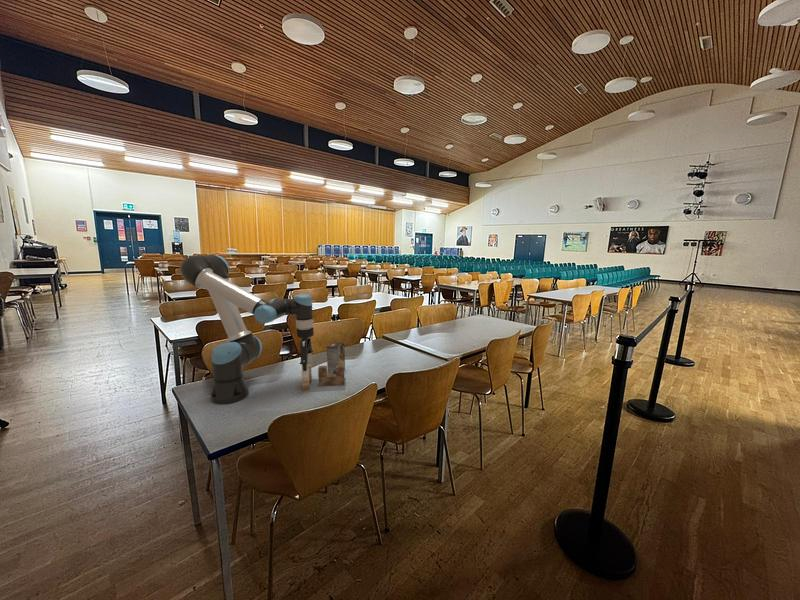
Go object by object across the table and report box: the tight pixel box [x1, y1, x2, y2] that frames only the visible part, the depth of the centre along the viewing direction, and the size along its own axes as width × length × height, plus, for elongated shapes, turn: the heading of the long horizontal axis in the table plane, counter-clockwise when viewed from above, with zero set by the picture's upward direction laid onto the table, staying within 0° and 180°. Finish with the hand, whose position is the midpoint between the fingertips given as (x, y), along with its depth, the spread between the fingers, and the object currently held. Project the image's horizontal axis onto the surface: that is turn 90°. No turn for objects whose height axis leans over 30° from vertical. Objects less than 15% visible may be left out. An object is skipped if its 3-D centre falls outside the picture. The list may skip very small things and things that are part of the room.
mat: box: [300, 377, 347, 393], centre depth 160 cm, size 20×14×1 cm
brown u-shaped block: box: [317, 365, 346, 386], centre depth 160 cm, size 12×3×9 cm, turn 98°
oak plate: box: [301, 364, 313, 390], centre depth 158 cm, size 10×3×9 cm, turn 8°
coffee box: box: [326, 341, 346, 375], centre depth 174 cm, size 9×6×16 cm
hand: (307, 371), depth 157 cm, fingers open, 13 cm apart
